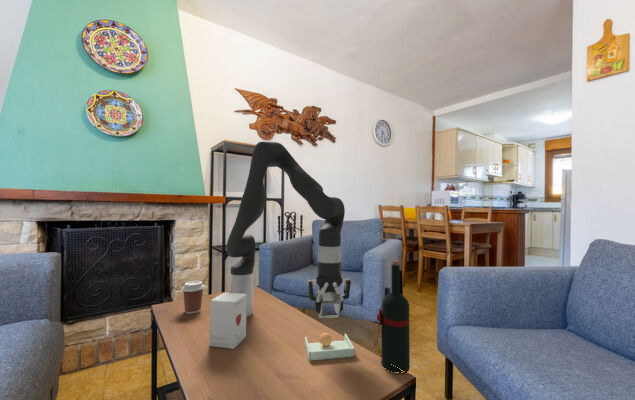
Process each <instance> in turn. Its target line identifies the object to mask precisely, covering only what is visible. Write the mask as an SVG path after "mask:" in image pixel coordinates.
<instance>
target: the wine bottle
mask: <svg viewBox="0 0 635 400" xmlns="http://www.w3.org/2000/svg"><path fill="white" fill-rule="evenodd" d="M399 262H400V261H399V260H398V259H396V260H395V259H394V260H393V259H392V264H391V285H390V286H391V287H390V288H391V292H389V293H387V294H386V295H385V296H384V297H383V299H382V301H381V308H378V313H377V314H376V319H377V322H378V328H377V329H378V330H377V337H376V341H375V342H374V344H373V348H375V347H376V346H377V344H378V341H379V340H378V339H379V333H380V332H379V331H380V326H381V340H380V341H381V346H380V347H381V350H380V351H381V352H380V353H381V354H380V355H381V357H380V362H381V363H380V365H381V364H382V365H381V366H383V367H384V368H386V369H387V370H389V371H392V372H399V373H401V372H403V371H405V372H406V373H408V372H409V370H410V367H411V365H410V362H411V361H410V359H411V357H410V355H411V354H410V349H411V348H410V303H409V301H408V299H407V298H406V297H405V296H404V295H403V294H402V293H401V292H400V264H399ZM381 358H382V359H381ZM391 364H392V365H391ZM393 365H394V366H393ZM395 366H396V367H395ZM383 367H382V368H383ZM397 367H398V368H397ZM384 368H383V369H384ZM399 368H400V369H401V370H403V371H401V370H400V369H399ZM387 370H386V371H387Z"/></svg>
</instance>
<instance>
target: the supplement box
mask: <svg viewBox="0 0 635 400" xmlns="http://www.w3.org/2000/svg"><path fill="white" fill-rule="evenodd" d="M246 301H247V294H238V293H230V292H223V293H221V294H218V295H217V296H216V297H214V298H212V299H210V308H209V311H210V312H209V344H208V345H209V347H215V348H222V349H223V348H224V349H231V350H234V349H235V348H237V346H238V345H239V344H241V342H242V341H244V339H246V337H247V317H246Z"/></svg>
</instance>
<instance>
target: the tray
mask: <svg viewBox="0 0 635 400" xmlns="http://www.w3.org/2000/svg"><path fill="white" fill-rule="evenodd" d="M343 337H344V340H332V342H331V344H330V345H329V346H323V345H321V343H320V341H318V342H309V341H308V338H307V336H304V346H305V350H306V355H307V358H308V361H309V362H312V361H323V360H324V361H325V360H336V359H347V358H346V357H348V358H355V357H354V356H356V350H355V346H354V345H353V343H352V341H351V340H350V339H349V337H348V334H347V333H344V335H343ZM335 358H336V359H335Z"/></svg>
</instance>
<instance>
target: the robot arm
mask: <svg viewBox="0 0 635 400" xmlns="http://www.w3.org/2000/svg"><path fill="white" fill-rule="evenodd" d="M275 167H277V168H279V170H282V171H283V172H285V174H286V175H287V177H288V179H289V183H290V185H291V186H292V188H293V189H294V191H296V192H297V193H298V195H300V196H301V197H302V198H303V199H304V200H305V201H306V203H307V204H308V206H309V207H310V208H311V210H312V212H314V214H315V215H316V216H317V217H319V218H320V219H323V220H324V223H323V226H322V227H320V229H319V230H318V249H317V275H316V278H315V279H308V280H307V290H308V297H309V299H310V301H314V311H315V313H317V314H318V315H319V314H320V296H323V294H324V292H325V293H327V292H336V294H337V295H340V298H341V307H340V312H339V314H340V313H342V311H343V310H344V301H345V300H348V299H349V298H350V293H351V291H350V290H351V285H352V280H351V279H350V278H348V277H346V278H342V259H343V256H342V249H341V248H342V247H341V246H342V245H341V244H342V243H341V242H342V236H341V235H342V233H341V231H342V229H343V224H344V219H345V213H346V212H345V211H346V210H345V204H344V202H343V200H341V199H340V198H339V197H336V196H335V197H334V196H328V195H327V194H326V193H325V192H324V188H323V187H322V185H321V184H320V183H319V182H318V181H317V180H315V178H313V177H312V176H311V175H310V174H308V173H307V172H306V171H305V170H304V169H303V167H302V166H301V165H300V164H299V163H298V162H297V161H296V160H295V157H293V156H292V154H291V153H290V151H288V149H287V148H286V147H285V146H284V145H283V143H280V142H278V141H270V140H260V141H257V143H256V144H255V146H254V148H253V151H252V155H251V161H250V167H249V171H248V177H247V180H246V183H245V187H244V191H243V194H242V196H241V200H240V204H239V208H238V211H237V215H236V217H235V221H234V224H233V226H232V229H231V230H230V234H229V235H228V239H227V242H226V254H227V256H229V258H241V259H240V260H239V261H238V262H236V263H235V264H233V265H231V267H230V292H229V293H238V294H247V301H246V318H247V317H249V316H251V315H253V313H254V309H253V308H254V267H255V259H256V239H255V237H254V236H253V235H252V234H249V233H248V234H247V233H246V232H247V230H248V229H249V228H250V227H252V225H254V224H255V223H256V221H258V219H259V218H261V216H262V215H263V212H264V210H265V207H266V204H267V199H268V197H267V196H268V195H267V192H266V188H265V184H264V183H265V182H264V180H265V176H266V173H267V170H268V168H275ZM316 284H317V285H318V289H317V291H316V294H315V293H314V288H315V285H316ZM341 284H343V286H344V287H343V293H342V292H341V290H340V286H341ZM319 289H321V291H319ZM314 294H315V295H314Z"/></svg>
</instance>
